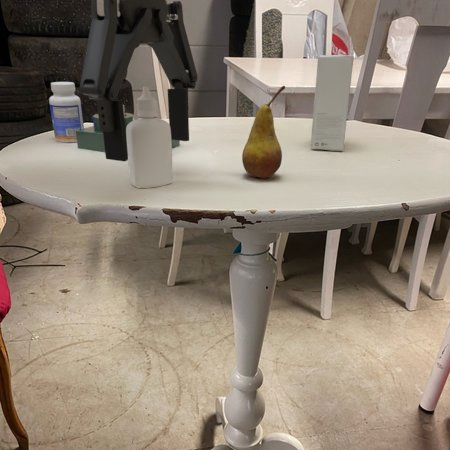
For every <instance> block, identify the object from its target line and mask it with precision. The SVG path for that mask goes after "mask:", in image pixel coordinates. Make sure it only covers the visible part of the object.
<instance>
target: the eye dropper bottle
mask: <svg viewBox="0 0 450 450" xmlns="http://www.w3.org/2000/svg"><path fill="white" fill-rule="evenodd" d="M157 102H158V101H157V98H155V97H154V96H153V95H152V94H151V91H150V86H148V85H144V86H142V92H141V95H140V96H139V97H138V98H136V110H137V111H136V112H137V116H138V117H137V118H135V119H134V120H133V121H132V122H130V123H129V124H128V125H127V127H126V138H127V150H128V160H127V161H128V172H129V182H130V185H132V186H133V187H134V188H138V189H150V188H153V189H154V188H158V187H163V186H167V185H170V184H172V183H173V180H174V172H173V170H174V169H173V148H172V144H171V129H170V125H169V122H168V121H166V120H164V119H162V118H158V103H157Z"/></svg>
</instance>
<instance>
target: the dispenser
mask: <svg viewBox="0 0 450 450" xmlns="http://www.w3.org/2000/svg"><path fill="white" fill-rule="evenodd" d="M91 118H92V125H93V126H89V127H88V126H87V127H84V128H83V129H79V130H76V137H77V142H76V144H77V148H78V149H82V150H87V151H89V150H90V151H95V152H100V153H101V152H103V153H105V146H104V137H103V131H101V128H100V125H99V117H98V113H95V114H94V115H93V114H92V117H91ZM133 120H135V115H134V114H133V113H130V112H125V116H124V121H125V132H126V127H127V125H128V124H129V123H130V122H132V121H133ZM126 142H127V138H126ZM171 144H172V149H173V148H176V146H177V147H179V145H181V141H179V140H171ZM127 153H128V150H127Z"/></svg>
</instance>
